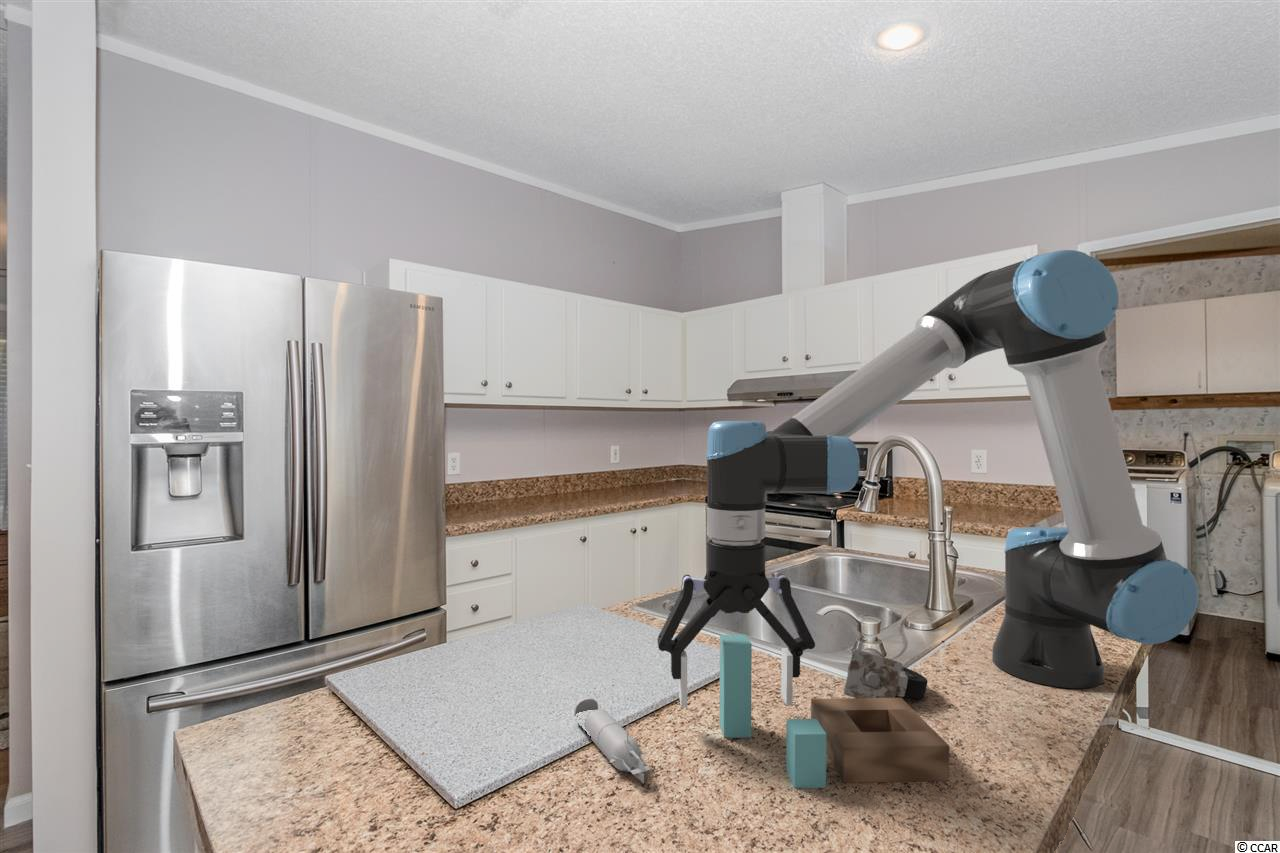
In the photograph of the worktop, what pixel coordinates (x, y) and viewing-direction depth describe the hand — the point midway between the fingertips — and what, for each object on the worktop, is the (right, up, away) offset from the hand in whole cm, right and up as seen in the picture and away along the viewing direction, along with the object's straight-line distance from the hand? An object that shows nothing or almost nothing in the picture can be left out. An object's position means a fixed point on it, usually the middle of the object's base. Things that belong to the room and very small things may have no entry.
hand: (735, 702), depth 82 cm
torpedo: (-16, -4, -4) cm, 17 cm away
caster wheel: (+24, -4, +11) cm, 27 cm away
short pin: (+6, -4, -11) cm, 13 cm away
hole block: (+16, -4, -5) cm, 17 cm away
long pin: (0, -4, 0) cm, 4 cm away
